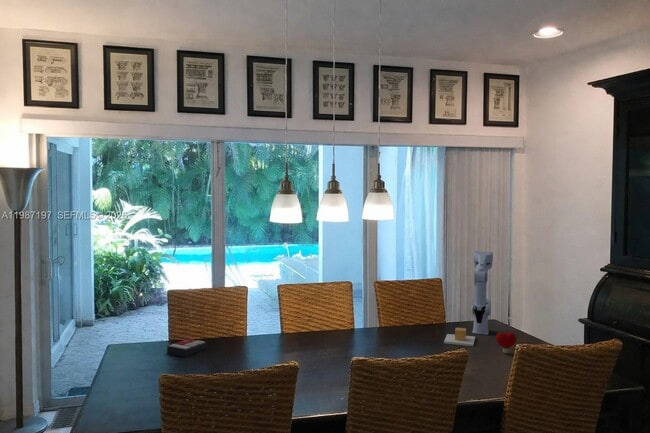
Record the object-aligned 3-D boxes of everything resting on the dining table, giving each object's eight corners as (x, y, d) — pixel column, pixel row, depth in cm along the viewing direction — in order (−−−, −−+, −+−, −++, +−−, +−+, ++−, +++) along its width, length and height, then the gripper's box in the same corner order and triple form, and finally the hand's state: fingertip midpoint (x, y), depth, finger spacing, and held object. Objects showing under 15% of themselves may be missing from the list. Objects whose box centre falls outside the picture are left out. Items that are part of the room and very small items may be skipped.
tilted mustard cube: (455, 337, 271) (456, 327, 271) (465, 338, 270) (466, 328, 269) (454, 339, 267) (455, 330, 266) (465, 340, 265) (465, 331, 265)
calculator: (206, 341, 253) (185, 348, 239) (206, 350, 253) (185, 357, 240) (188, 337, 258) (166, 344, 244) (188, 346, 258) (166, 354, 244)
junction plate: (447, 335, 277) (447, 327, 277) (475, 338, 273) (475, 330, 272) (444, 343, 264) (444, 335, 264) (473, 346, 259) (473, 337, 259)
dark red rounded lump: (514, 351, 252) (514, 330, 251) (518, 356, 245) (518, 334, 244) (493, 350, 253) (494, 330, 252) (497, 355, 246) (497, 334, 245)
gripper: (473, 291, 278) (472, 317, 279) (471, 297, 264) (470, 324, 265) (487, 292, 275) (486, 318, 276) (485, 298, 262) (485, 325, 263)
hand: (479, 321), depth 270 cm, fingers open, 7 cm apart
